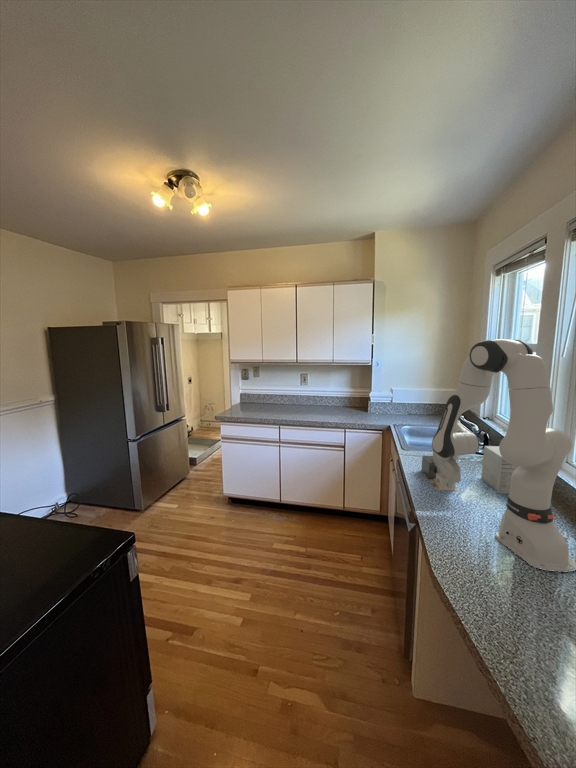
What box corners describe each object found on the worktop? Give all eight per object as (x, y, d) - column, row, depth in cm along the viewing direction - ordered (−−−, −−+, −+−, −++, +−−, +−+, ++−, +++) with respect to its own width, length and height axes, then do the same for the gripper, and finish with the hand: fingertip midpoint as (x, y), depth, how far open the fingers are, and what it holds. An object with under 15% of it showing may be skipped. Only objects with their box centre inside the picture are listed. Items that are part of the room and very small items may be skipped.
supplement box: (527, 494, 137) (532, 457, 134) (496, 493, 138) (500, 456, 135) (508, 480, 150) (512, 446, 147) (480, 480, 151) (483, 445, 148)
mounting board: (459, 493, 138) (459, 490, 138) (437, 493, 138) (437, 490, 138) (439, 473, 158) (439, 470, 158) (419, 472, 159) (420, 469, 159)
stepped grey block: (447, 479, 148) (449, 457, 147) (428, 478, 149) (429, 457, 147) (439, 471, 157) (441, 450, 155) (421, 470, 158) (422, 450, 156)
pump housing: (454, 490, 138) (455, 479, 137) (436, 489, 139) (437, 479, 138) (448, 483, 144) (449, 473, 143) (431, 483, 144) (431, 473, 144)
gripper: (466, 463, 128) (463, 494, 131) (444, 445, 149) (442, 472, 151) (450, 463, 129) (447, 494, 131) (430, 445, 149) (428, 472, 151)
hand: (444, 482), depth 141 cm, fingers open, 8 cm apart
